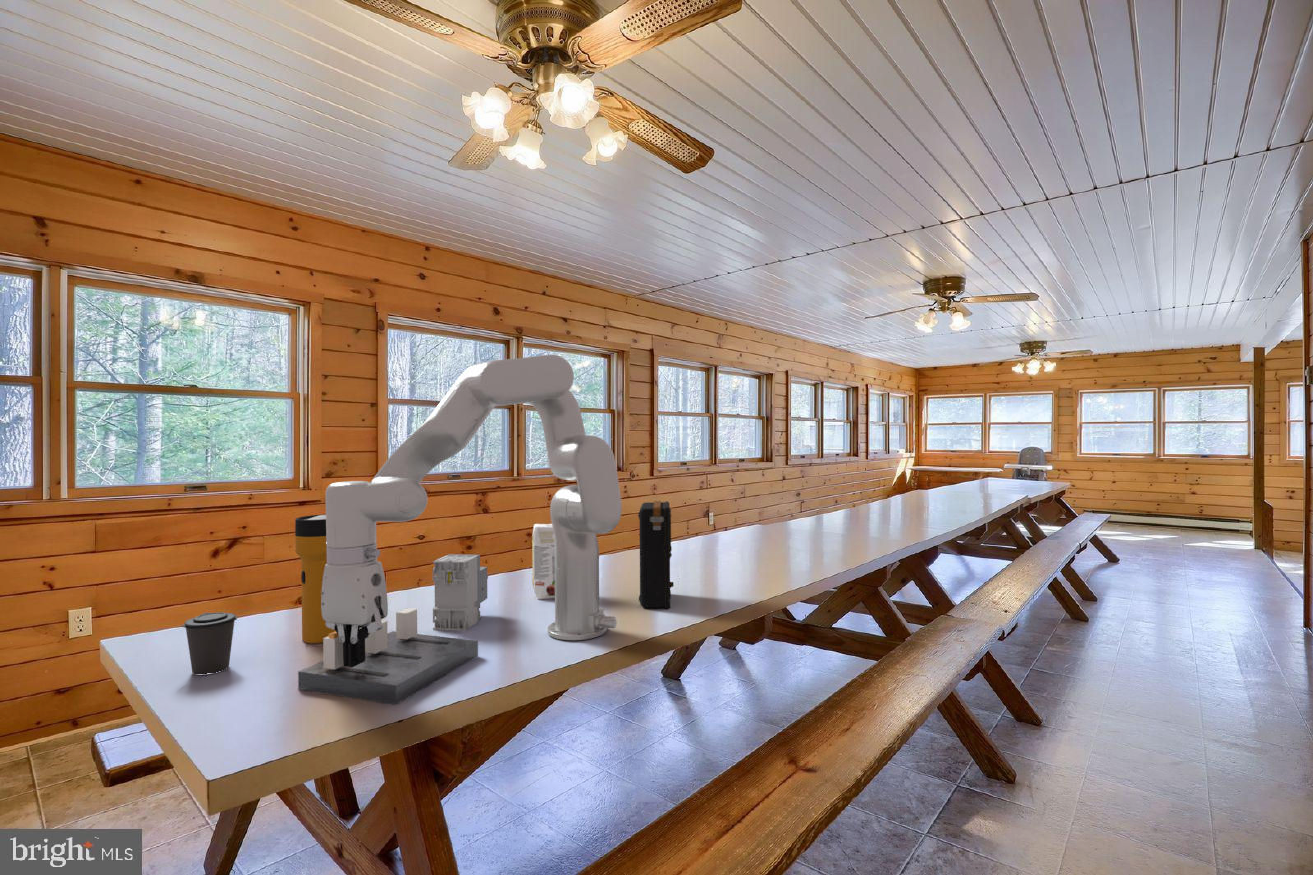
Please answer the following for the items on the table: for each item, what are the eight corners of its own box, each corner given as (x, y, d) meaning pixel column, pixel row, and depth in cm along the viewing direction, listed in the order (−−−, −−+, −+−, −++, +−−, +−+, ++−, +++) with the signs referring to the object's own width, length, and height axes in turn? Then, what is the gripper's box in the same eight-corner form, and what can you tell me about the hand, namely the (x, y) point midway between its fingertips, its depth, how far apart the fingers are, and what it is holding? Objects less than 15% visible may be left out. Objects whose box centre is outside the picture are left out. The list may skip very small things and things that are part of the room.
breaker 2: (417, 634, 119) (417, 609, 119) (406, 639, 116) (406, 613, 116) (407, 633, 120) (407, 608, 120) (396, 638, 117) (396, 612, 117)
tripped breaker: (348, 663, 104) (348, 630, 104) (334, 669, 101) (334, 636, 101) (337, 661, 105) (337, 629, 105) (323, 668, 102) (323, 634, 102)
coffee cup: (206, 661, 115) (206, 608, 115) (248, 661, 114) (248, 608, 114) (170, 678, 106) (170, 621, 106) (215, 678, 106) (215, 621, 106)
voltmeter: (674, 610, 147) (673, 507, 147) (638, 610, 147) (637, 507, 147) (673, 593, 162) (672, 500, 162) (640, 593, 162) (640, 500, 162)
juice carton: (567, 598, 158) (567, 525, 158) (534, 600, 156) (533, 527, 156) (563, 591, 165) (563, 521, 165) (531, 593, 163) (531, 523, 163)
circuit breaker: (490, 611, 146) (489, 549, 146) (465, 630, 132) (465, 561, 132) (460, 611, 147) (459, 549, 147) (432, 629, 133) (432, 561, 133)
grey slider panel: (477, 656, 116) (477, 640, 116) (396, 704, 95) (395, 684, 95) (392, 646, 122) (392, 630, 122) (298, 689, 101) (298, 670, 101)
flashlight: (356, 514, 128) (304, 519, 121) (357, 637, 128) (305, 649, 121) (338, 511, 135) (288, 515, 128) (339, 627, 135) (289, 638, 128)
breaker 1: (387, 648, 111) (387, 621, 111) (375, 653, 108) (375, 625, 108) (377, 646, 112) (376, 619, 112) (364, 652, 109) (364, 624, 109)
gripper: (404, 552, 103) (407, 660, 103) (334, 549, 107) (336, 652, 107) (372, 561, 96) (374, 677, 96) (298, 557, 100) (300, 668, 100)
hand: (354, 663), depth 102 cm, fingers closed
